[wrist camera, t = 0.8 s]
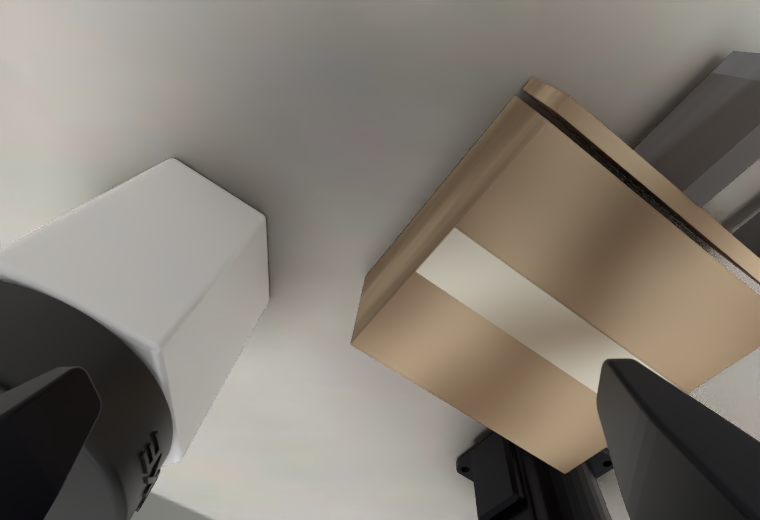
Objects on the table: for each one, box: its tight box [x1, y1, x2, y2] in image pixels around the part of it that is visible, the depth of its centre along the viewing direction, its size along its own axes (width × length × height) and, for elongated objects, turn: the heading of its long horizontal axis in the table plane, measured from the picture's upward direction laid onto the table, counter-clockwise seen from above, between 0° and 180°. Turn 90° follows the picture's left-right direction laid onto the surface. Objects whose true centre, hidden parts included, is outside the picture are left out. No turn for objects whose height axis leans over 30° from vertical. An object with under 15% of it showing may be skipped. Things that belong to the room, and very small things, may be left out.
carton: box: [351, 95, 760, 474], centre depth 18 cm, size 11×10×5 cm
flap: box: [523, 51, 760, 285], centre depth 14 cm, size 11×5×5 cm, turn 55°
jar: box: [0, 158, 270, 520], centre depth 16 cm, size 9×8×12 cm
